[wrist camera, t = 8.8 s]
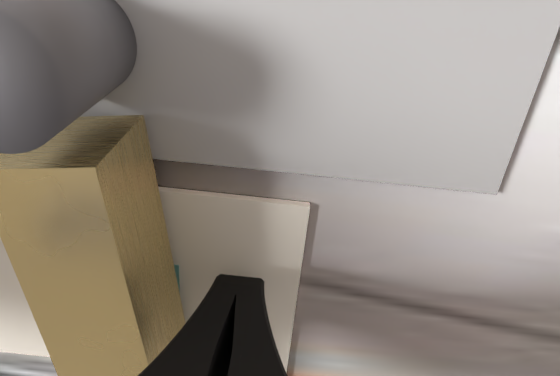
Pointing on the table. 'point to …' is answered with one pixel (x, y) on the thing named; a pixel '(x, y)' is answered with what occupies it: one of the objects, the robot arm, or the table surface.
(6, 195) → the bar
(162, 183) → the table surface
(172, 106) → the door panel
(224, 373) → the robot arm
